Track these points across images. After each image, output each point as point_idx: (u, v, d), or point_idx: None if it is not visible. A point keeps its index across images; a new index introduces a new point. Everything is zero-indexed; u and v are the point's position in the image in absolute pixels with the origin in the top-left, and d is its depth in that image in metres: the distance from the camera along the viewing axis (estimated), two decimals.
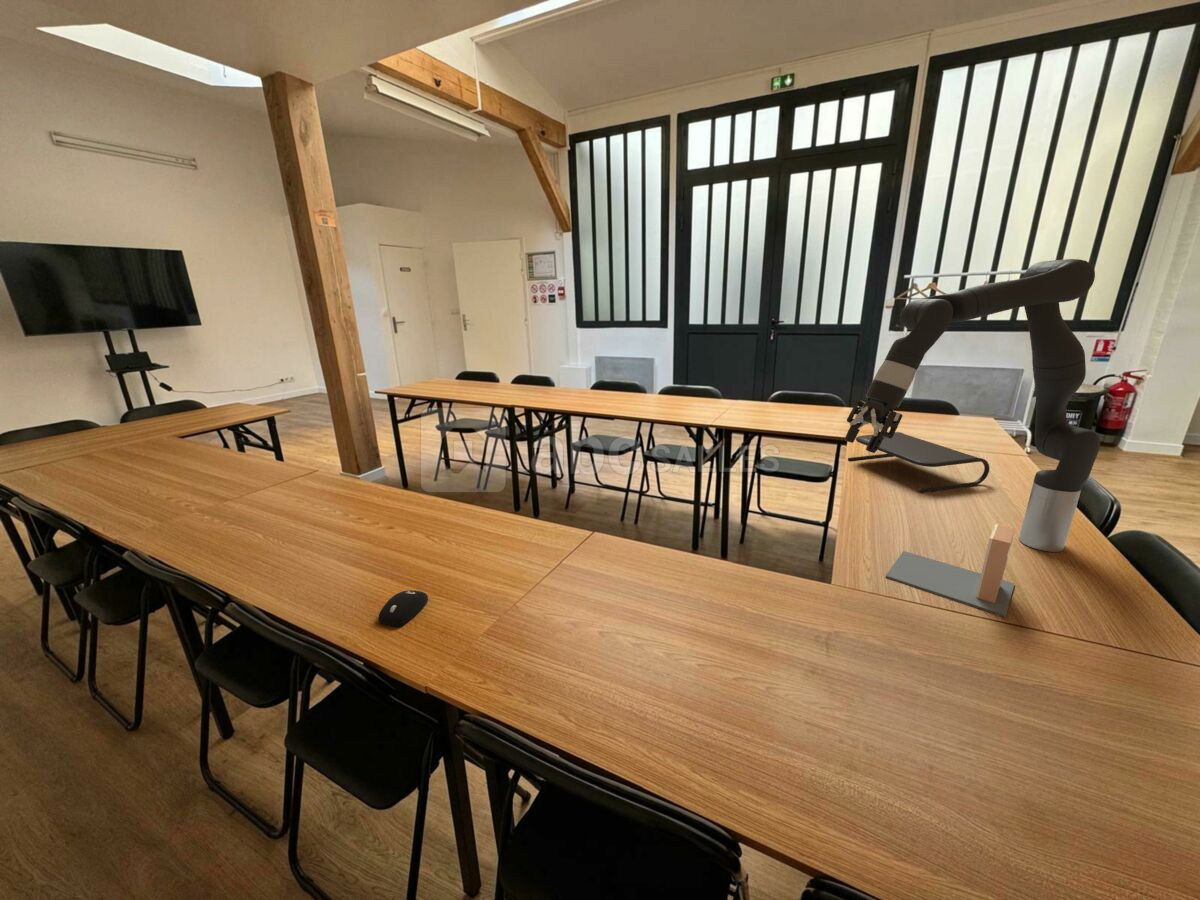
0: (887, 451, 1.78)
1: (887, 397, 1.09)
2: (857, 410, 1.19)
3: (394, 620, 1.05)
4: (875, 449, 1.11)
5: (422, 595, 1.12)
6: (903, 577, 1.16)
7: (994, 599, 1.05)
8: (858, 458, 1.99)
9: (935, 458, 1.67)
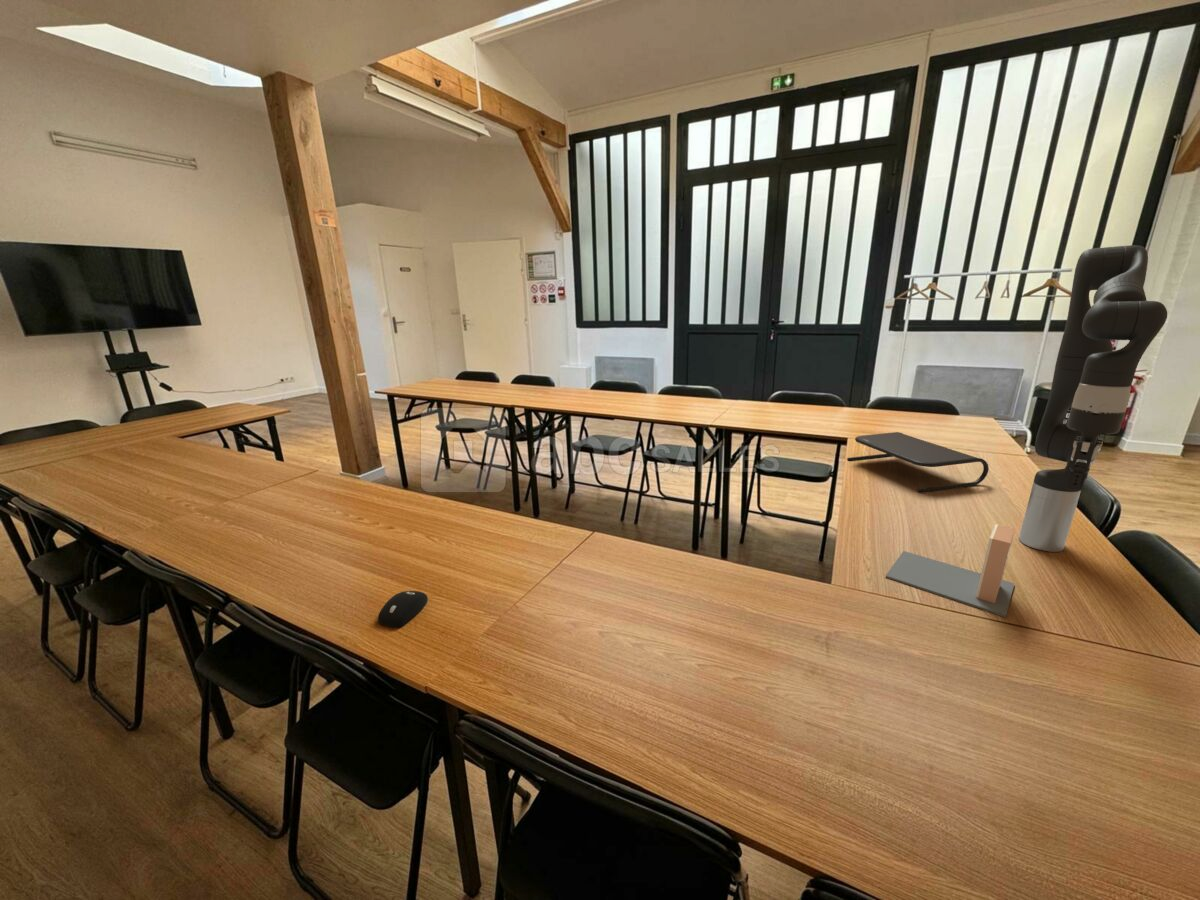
0: (886, 451, 1.78)
1: None
2: None
3: (394, 621, 1.05)
4: None
5: (422, 595, 1.11)
6: (903, 577, 1.16)
7: (994, 599, 1.05)
8: (857, 458, 1.99)
9: (934, 458, 1.67)
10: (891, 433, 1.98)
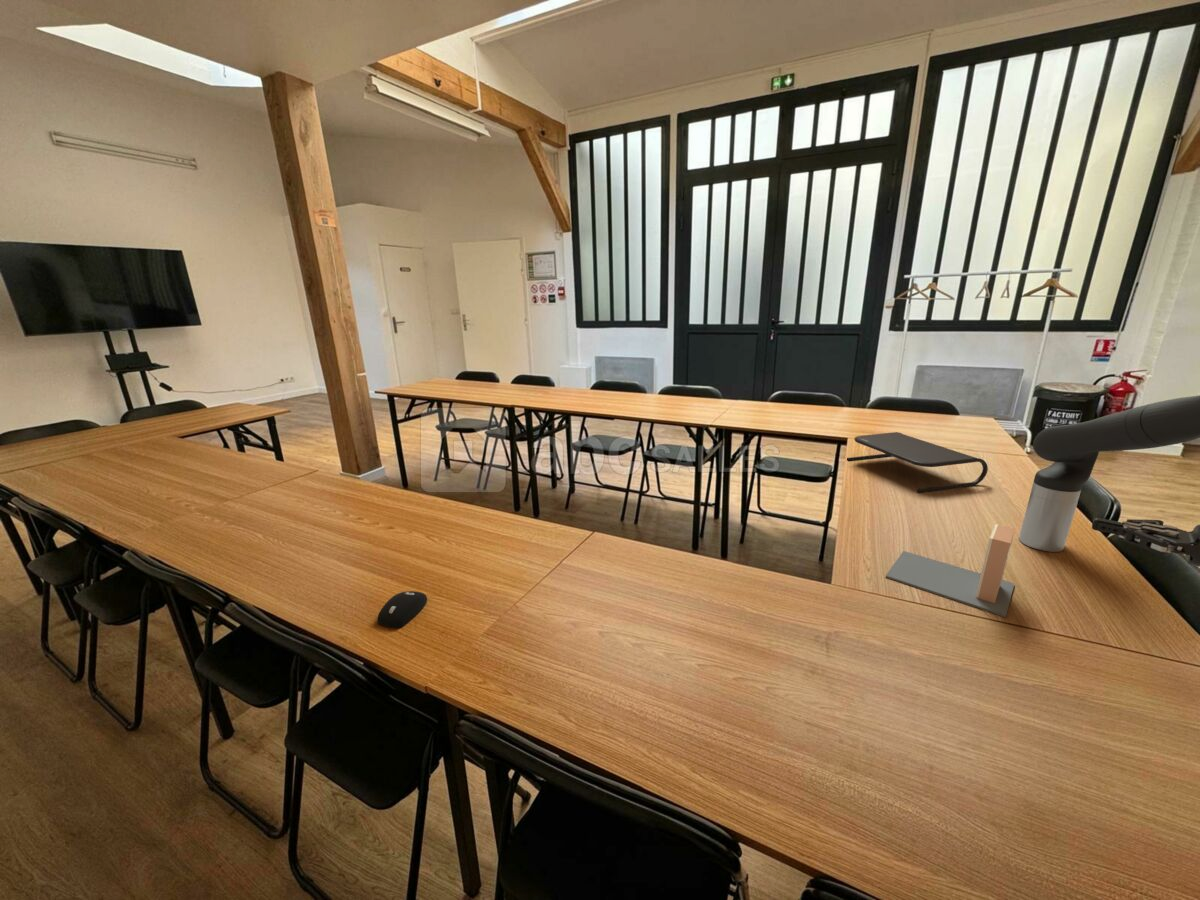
0: (885, 451, 1.78)
1: None
2: None
3: (393, 621, 1.04)
4: None
5: (421, 596, 1.11)
6: (903, 577, 1.16)
7: (994, 599, 1.05)
8: (857, 458, 1.99)
9: (933, 458, 1.67)
10: (890, 433, 1.98)
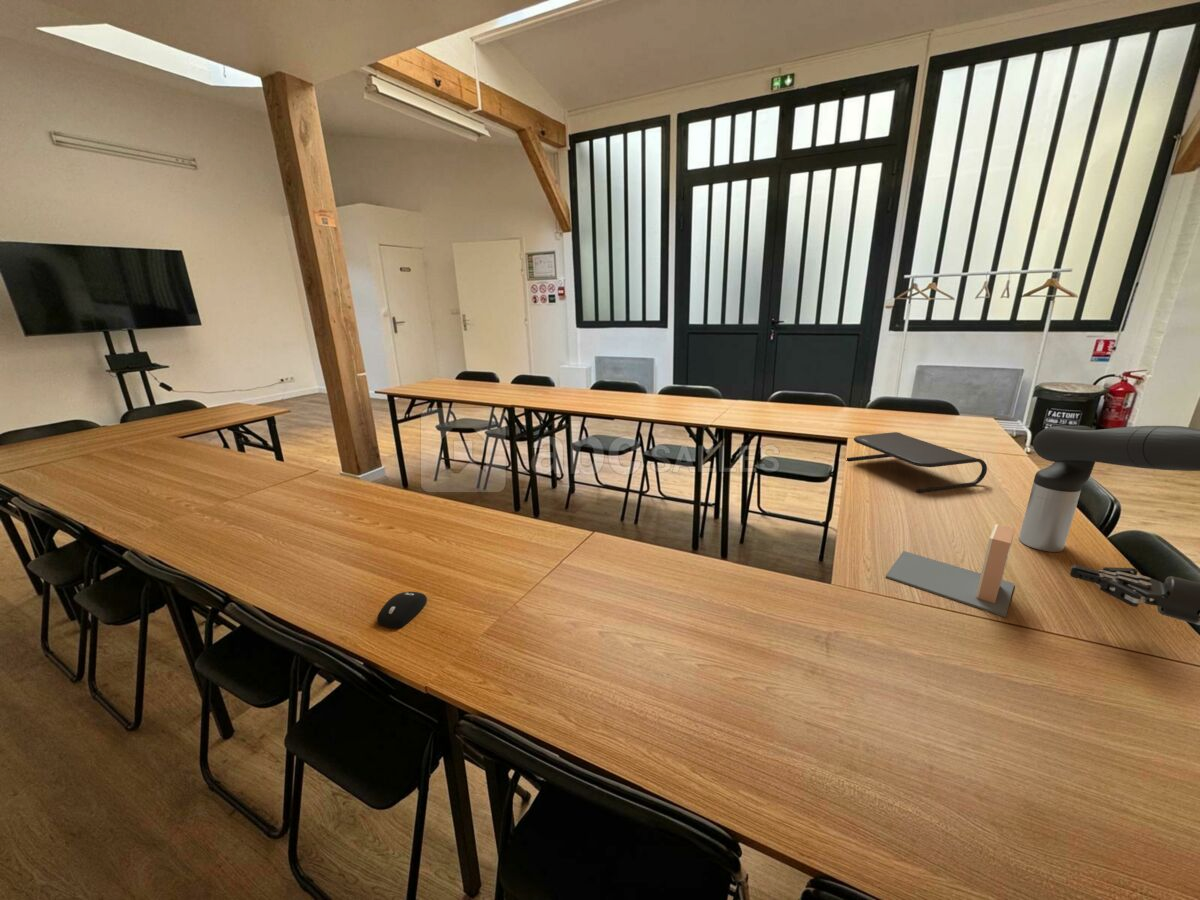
0: (884, 451, 1.78)
1: None
2: None
3: (393, 622, 1.04)
4: None
5: (421, 596, 1.11)
6: (903, 577, 1.16)
7: (994, 599, 1.05)
8: (856, 458, 1.99)
9: (932, 458, 1.67)
10: (890, 433, 1.98)
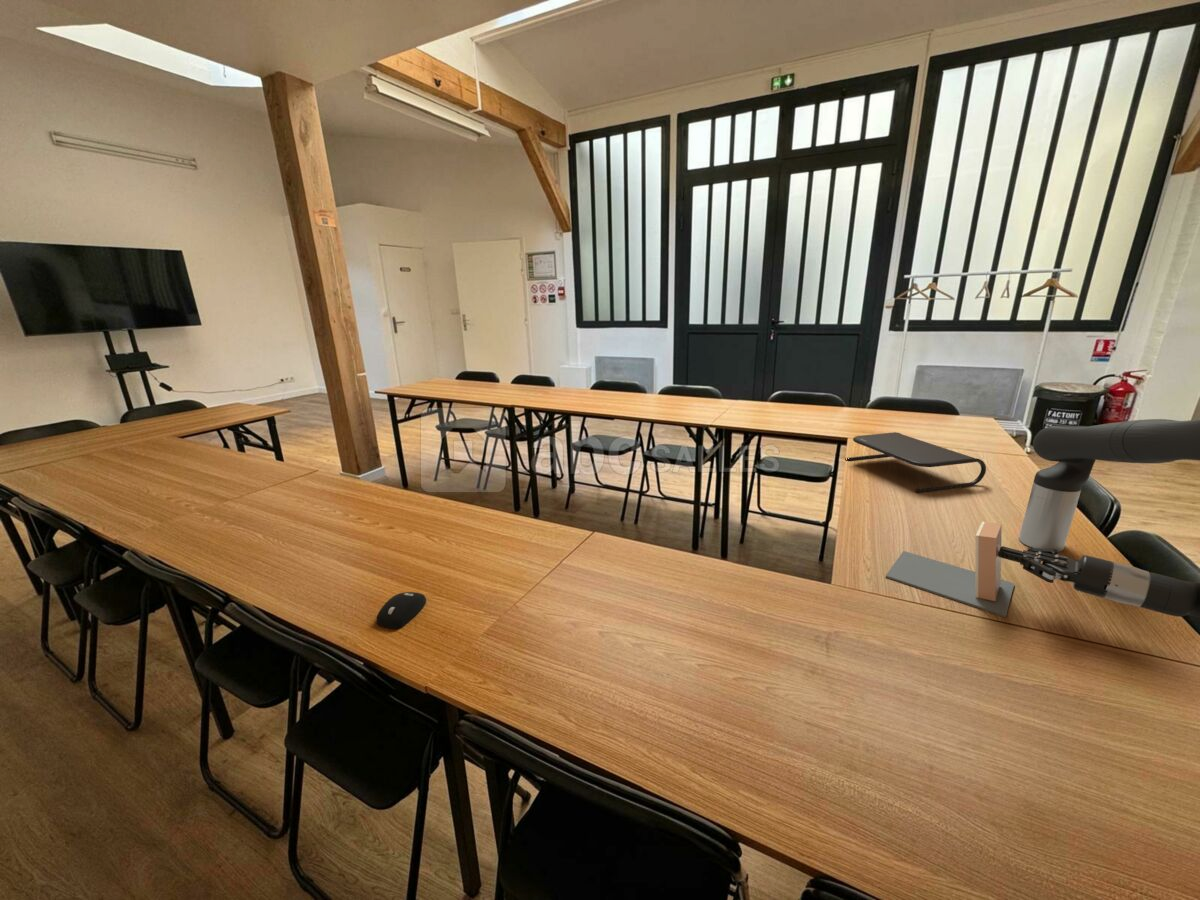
0: (884, 451, 1.78)
1: None
2: None
3: (392, 622, 1.04)
4: None
5: (420, 597, 1.11)
6: (903, 577, 1.16)
7: (993, 597, 1.05)
8: (855, 458, 1.99)
9: (931, 458, 1.67)
10: (889, 433, 1.98)
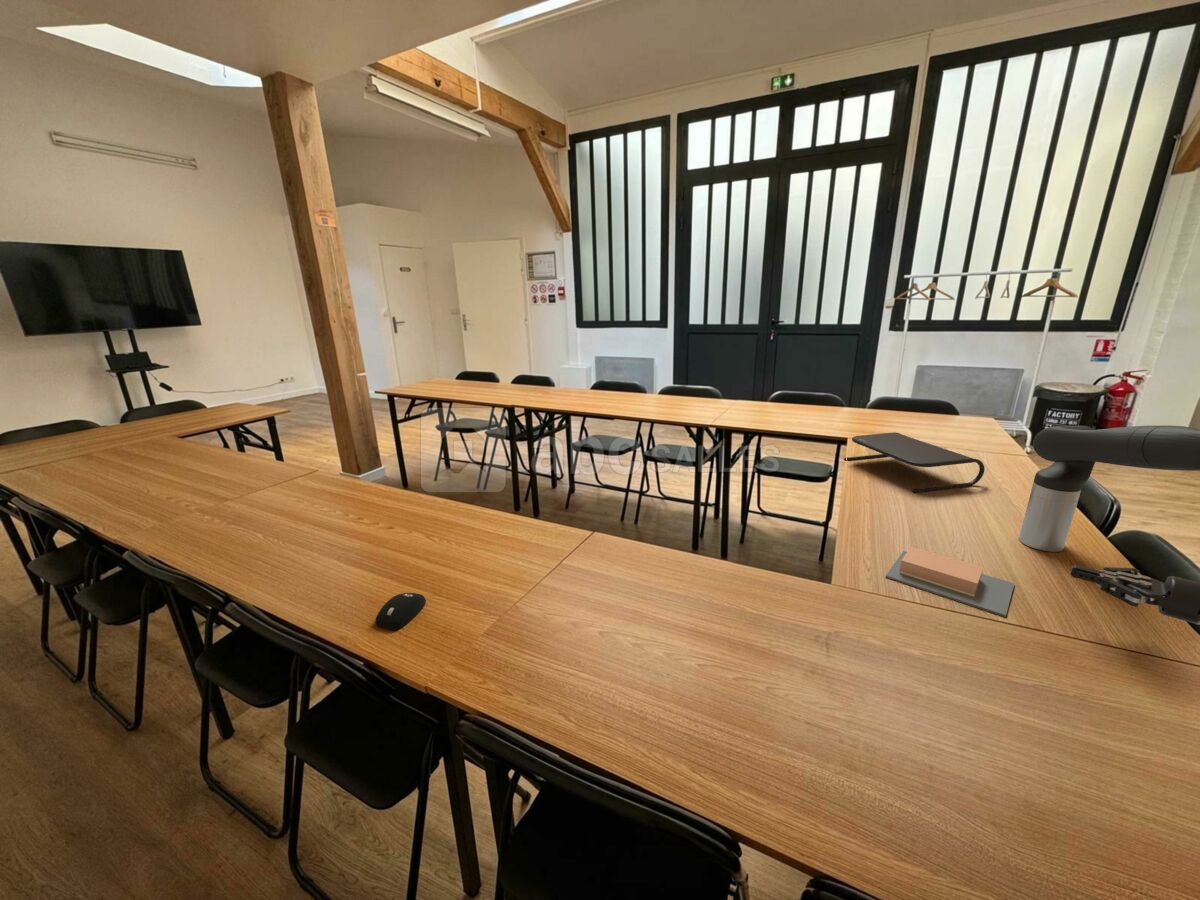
0: (882, 451, 1.78)
1: None
2: None
3: (391, 623, 1.04)
4: None
5: (420, 598, 1.11)
6: (903, 577, 1.16)
7: (972, 582, 1.07)
8: (854, 458, 1.99)
9: (929, 458, 1.67)
10: (888, 433, 1.98)
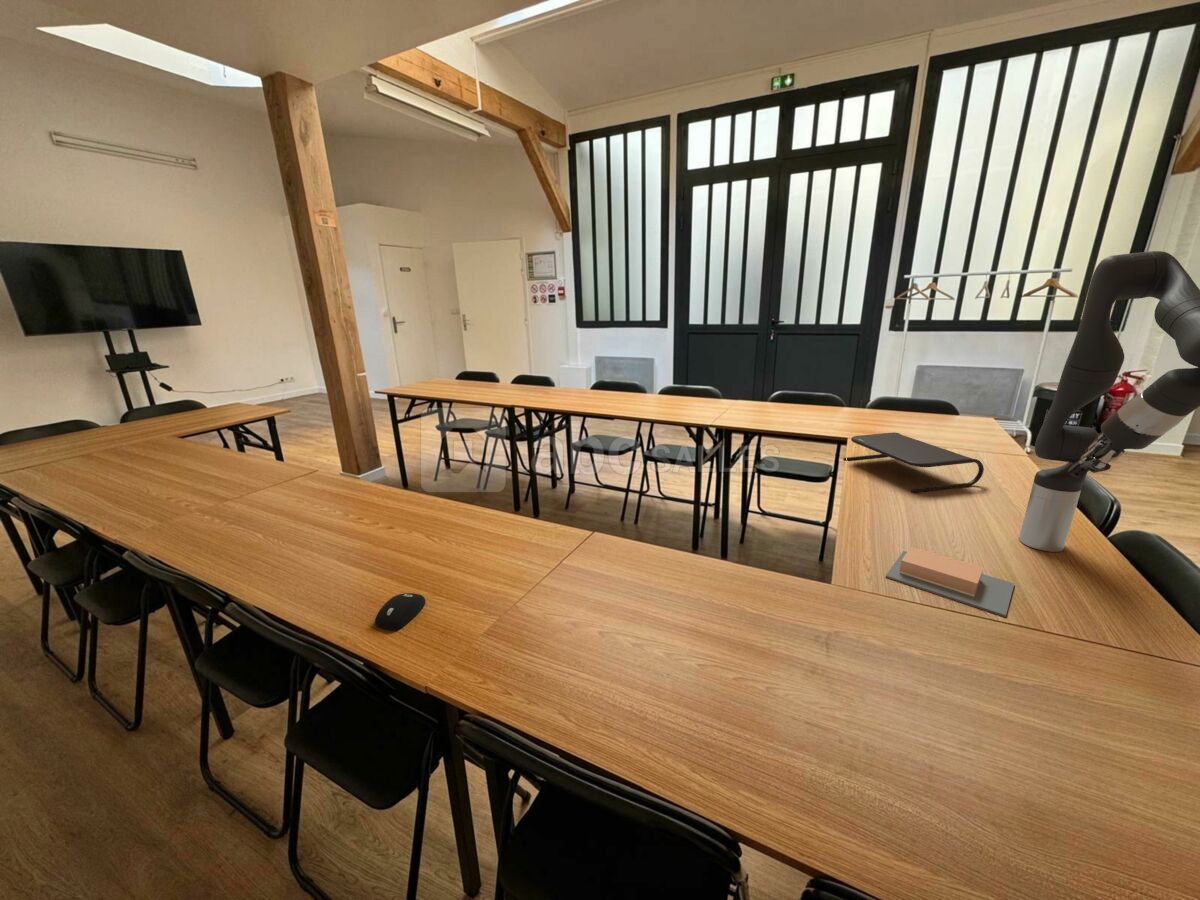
0: (881, 451, 1.78)
1: None
2: None
3: (391, 624, 1.04)
4: None
5: (419, 598, 1.11)
6: (903, 577, 1.16)
7: (972, 582, 1.07)
8: (854, 458, 1.99)
9: (928, 458, 1.67)
10: (888, 433, 1.98)
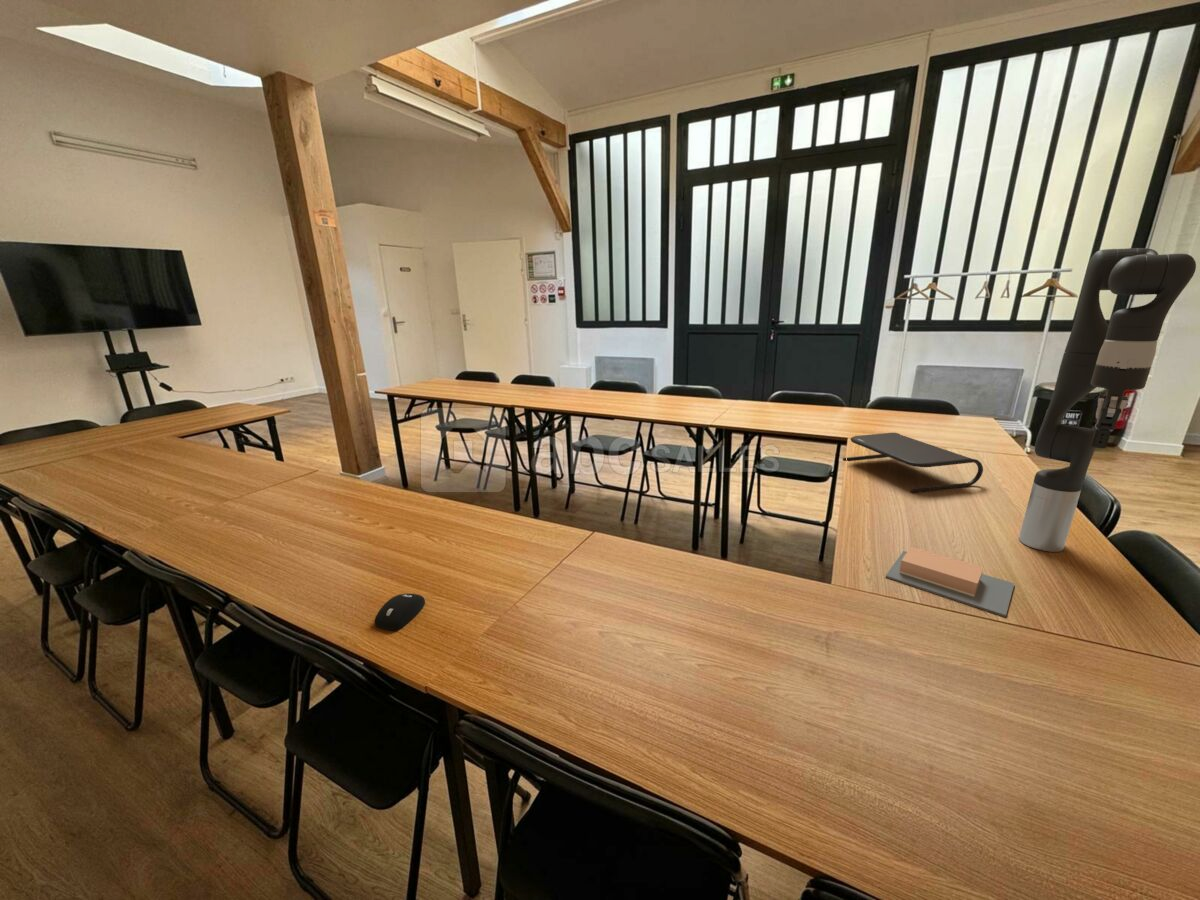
0: (880, 451, 1.78)
1: None
2: None
3: (390, 624, 1.04)
4: None
5: (419, 598, 1.10)
6: (903, 577, 1.16)
7: (972, 582, 1.07)
8: (853, 458, 1.99)
9: (927, 458, 1.67)
10: (887, 433, 1.98)
